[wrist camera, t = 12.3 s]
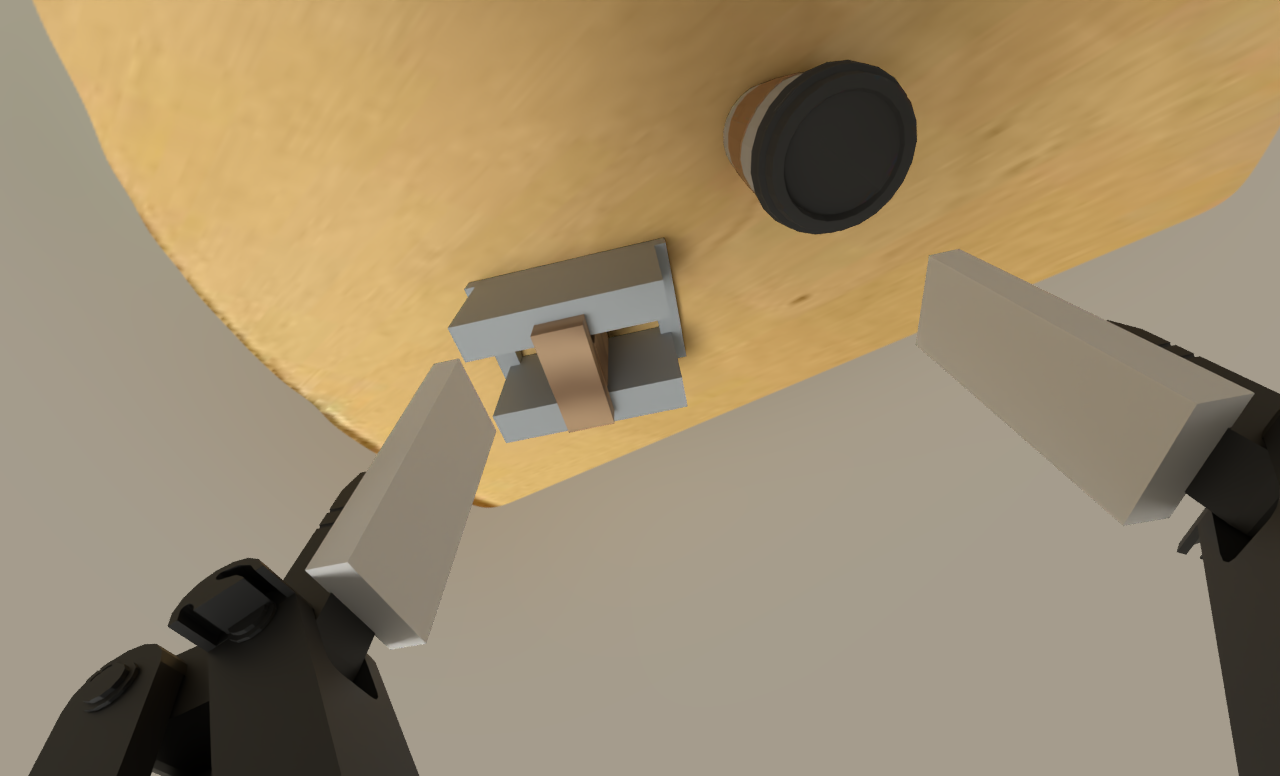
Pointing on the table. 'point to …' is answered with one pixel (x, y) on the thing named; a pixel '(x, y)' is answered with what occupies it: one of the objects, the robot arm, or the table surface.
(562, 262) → the slot stand
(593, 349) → the wooden t-shaped block
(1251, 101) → the table surface
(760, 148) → the coffee cup
